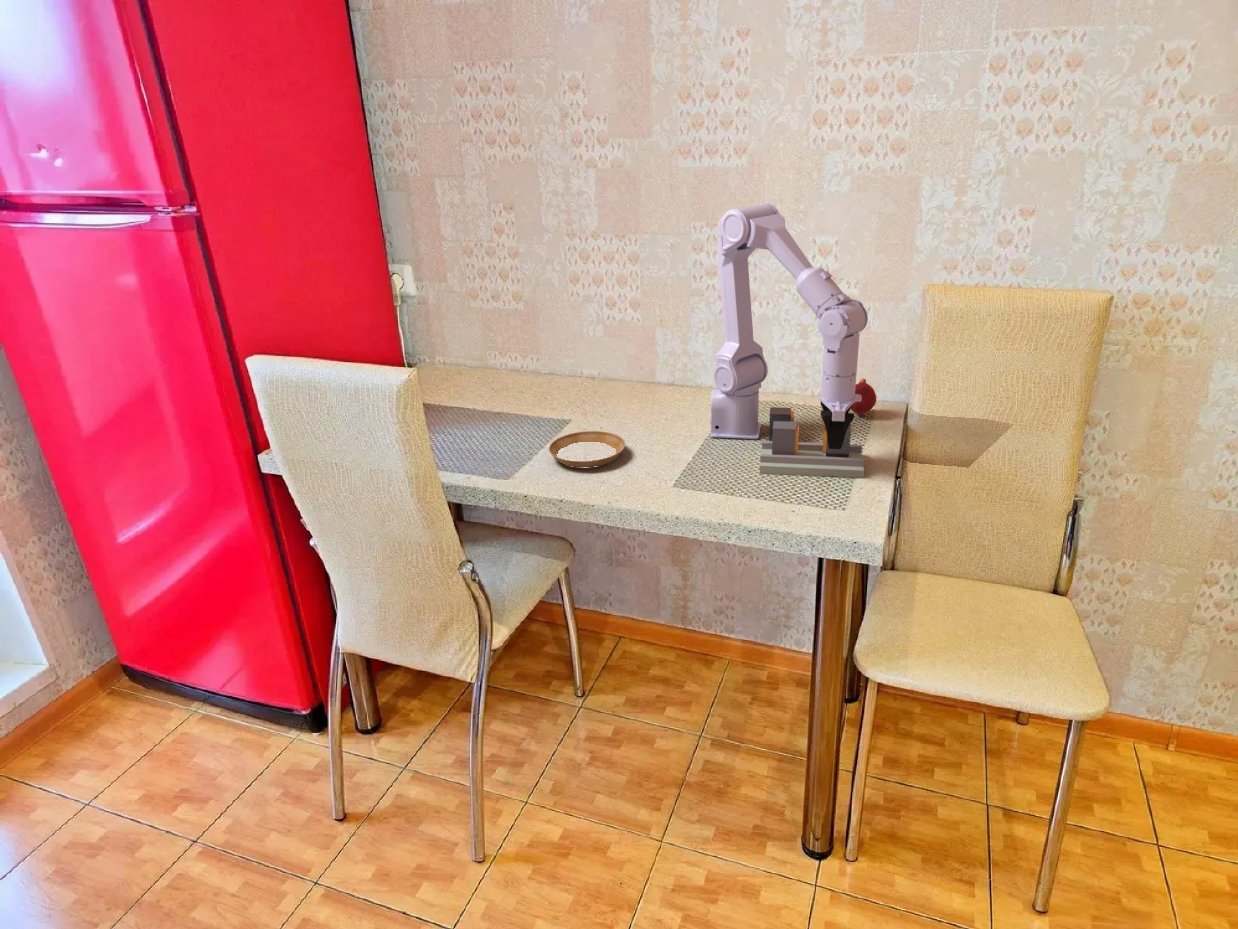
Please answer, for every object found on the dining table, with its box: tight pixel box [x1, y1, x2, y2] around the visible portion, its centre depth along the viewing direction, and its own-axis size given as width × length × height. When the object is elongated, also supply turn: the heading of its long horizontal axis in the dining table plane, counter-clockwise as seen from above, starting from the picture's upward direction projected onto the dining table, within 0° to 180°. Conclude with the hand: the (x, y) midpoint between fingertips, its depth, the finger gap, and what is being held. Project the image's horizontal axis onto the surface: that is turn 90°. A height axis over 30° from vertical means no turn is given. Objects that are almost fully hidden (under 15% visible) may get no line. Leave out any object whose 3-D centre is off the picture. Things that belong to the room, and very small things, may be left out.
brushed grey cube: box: [822, 422, 852, 458], centre depth 148 cm, size 5×4×6 cm
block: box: [768, 406, 795, 441], centre depth 161 cm, size 5×4×6 cm
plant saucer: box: [548, 430, 626, 468], centre depth 158 cm, size 15×15×3 cm
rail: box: [759, 421, 865, 479], centre depth 149 cm, size 18×10×8 cm, turn 78°
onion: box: [850, 377, 877, 417], centre depth 169 cm, size 6×6×8 cm
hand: (834, 443), depth 148 cm, fingers closed on brushed grey cube, 3 cm apart
